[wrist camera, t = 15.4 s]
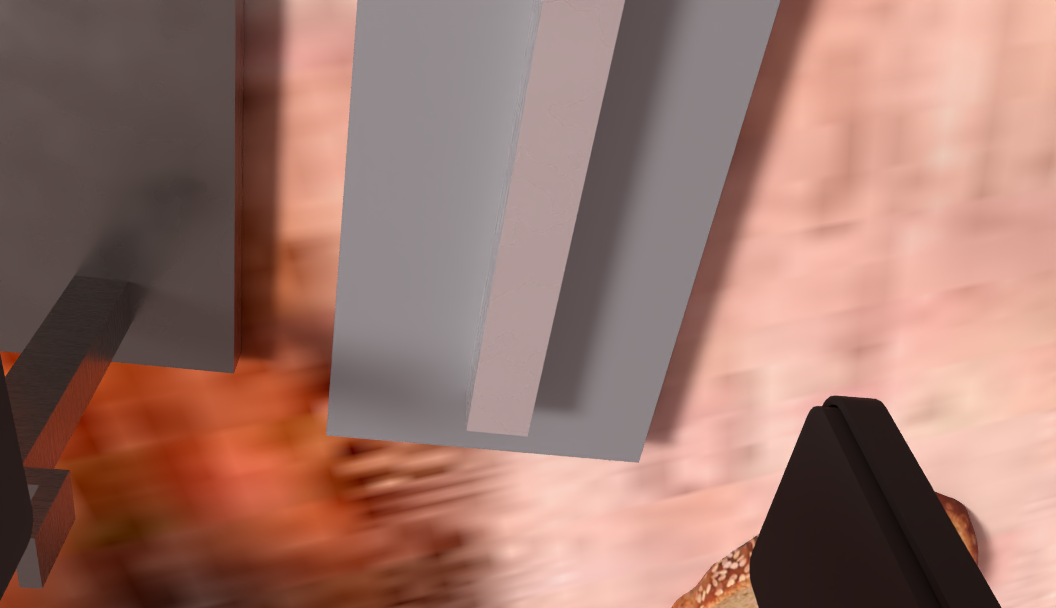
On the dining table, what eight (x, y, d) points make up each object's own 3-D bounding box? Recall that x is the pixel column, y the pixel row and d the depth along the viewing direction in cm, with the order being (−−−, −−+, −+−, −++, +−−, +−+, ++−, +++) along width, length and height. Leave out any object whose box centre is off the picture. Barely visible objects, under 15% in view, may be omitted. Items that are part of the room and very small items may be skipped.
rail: (661, -241, 27) (677, -236, 25) (524, 398, 40) (527, 436, 38) (578, -257, 27) (588, -255, 25) (466, 392, 40) (466, 430, 37)
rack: (246, -343, 27) (68, -387, 15) (241, 352, 40) (143, 639, 28) (-125, -418, 26) (-671, -538, 13) (-6, 328, 39) (-226, 619, 26)
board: (853, -319, 28) (878, -320, 27) (631, 433, 44) (638, 462, 42) (392, -419, 26) (388, -428, 25) (331, 406, 42) (326, 435, 40)
